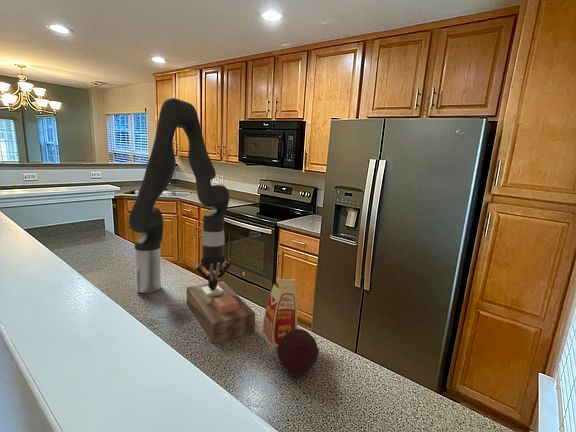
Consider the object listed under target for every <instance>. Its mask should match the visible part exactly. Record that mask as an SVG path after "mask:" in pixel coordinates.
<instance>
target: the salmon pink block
mask: <svg viewBox="0 0 576 432" xmlns="http://www.w3.org/2000/svg"><path fill="white" fill-rule="evenodd" d="M214 308H215V309H216V310H217V312H218V313H219V314H224V313H228V312H232V311H237V310H238V302H237V301H236V300H235V299H234V298H233V296H232V295H229V296H224V297H219V298H214Z"/></svg>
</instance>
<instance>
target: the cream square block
mask: <svg viewBox="0 0 576 432" xmlns="http://www.w3.org/2000/svg"><path fill="white" fill-rule="evenodd" d="M201 292H202V293H203V294H204V295H205V297H211V296H216V295H221V294H223V290H222V289H221V288H220V287H219V286H218V285H217V288H216V289H215V290H211V289H210V288H209V287H208V286H206V287H201Z"/></svg>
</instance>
